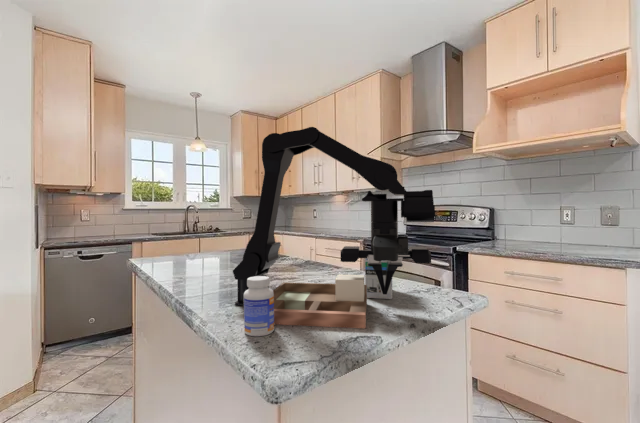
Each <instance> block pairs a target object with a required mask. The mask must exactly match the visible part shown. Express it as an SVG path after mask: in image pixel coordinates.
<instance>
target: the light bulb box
mask: <svg viewBox="0 0 640 423" xmlns="http://www.w3.org/2000/svg"><path fill="white" fill-rule="evenodd" d="M367 263H368V260H367V258H364V264H365V265H364V272H365V275H364V285H367V299H378V300H379V299H381V300H382V299H384V300H393V279H392V280H391V283H390V286H389V289H388V292H387V295H384V294H383V293H382V290H381V286H380V283H379V280H378V277H377V275H376V273H375V271H374V269H373V267H372V266H368V265H367ZM381 265H382V272H383V279H384V286H385V278H386V269H387V260H382V261H381Z"/></svg>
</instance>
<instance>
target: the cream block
mask: <svg viewBox="0 0 640 423" xmlns="http://www.w3.org/2000/svg"><path fill="white" fill-rule="evenodd" d="M334 281H335V282H334V284H335V296H336V301H363V302H364V285H365V275H364V274H337V275H336V278H335V280H334Z"/></svg>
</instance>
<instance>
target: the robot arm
mask: <svg viewBox="0 0 640 423" xmlns="http://www.w3.org/2000/svg"><path fill="white" fill-rule="evenodd" d="M311 149H317V150H318V151H320V152H321V153H324V154H325V155H327V156H328V157H329V158H331V159H334V160H336V161H337V162H339V163H340V164H343V165H344V166H346V167H348V168H350V169H351V170H352V171H354V172H356V173H357V174H358V175H359V176H361V177H362V178H363V179H364V180H365V181H366V182H367V183H369V185H371V186H372V187H374V189H376V190H377V191H380V192H389V193H391V194H393V195H394V196H395V198H388V194H387V193H373V191H372V190H367V193H366V194H365V195H364V196H363V197H362V198H361V201H362V202H370V249H361V247H360V246H357V245H356V246H351V245H349V246H348V245H345V246H343V247H342V248H341V250H340V262H342V263H356V262H357V261H358V260H359V259H365V258H367V260H368V263H367V265H368V266H372V267H373V269H374V271H375V273H376V275H377V277H378V280H379V283H380V286H381V290H382V293H383V294H384V295H387V292H388V289H389V286H390V283H391V280H392V281H393V276H394V275H395V273H396V271H397V269H398V268H402V267H403V266H404V264H403V263H402V261H403V260H412V261H413V262H414V263H415V264H432V253H431V252H432V251H430V249H428V248H427V247H426V246H409V237H408V236H407V235H399V232H398V231H399V224H398V223H399V220H398V219H399V212H398V211H399V208H398V207H399V206H398V204H399V203H398V202H400V217H401V218H404V219H405V221H406V223H434V221H435V217H436V216H435V214H436V206H435V204H434V195H433V194H434V193H433V189H426V190H416V191H415V190H414V191H413V190H412V191H409V190H408V191H407V189H405V186H403V185H402V184H401V183H400V181H399V180H398V172H397V169H396V168H395V167H394V166H393V165H392V164H390V163H388V162H385V161H383V160H378V159H376V158H373V157H369V156H366V155H363V154H360V153H358V151H356V150H354V149H352V148H351V147H348V146H347V145H344V144H343V143H341V142H339V141H337V140H336V139H334V138H332V137H331V136H328V135H327V134H326V133H323V132H322V131H320V130H319V129H318V128H317V127H314V126H308V127H306V128H302V129H297V130H291V131H285V132H282V133H278V132H271V133H270V134H268V135H266V136H265V137H264V138H263V140H262V142H261V161H262V166H263V170H264V171H263V172H264V175H263V180H262V186H261V191H260V192H261V193H260V198H259V203H258V209H257V215H256V222H255V225H254V226H255V227H254V231H253V233H252V235H251V237H250V239H249V241H248V242H247V244H246V247H245V249H244V253H243V256H242V260H241V262H240V263H239V264H237V265H236V267H234V269H232V274H233V277H234V280H236V283H237V284H236V285H237V286H236V287H237V301H234V306H235V305H236V306H244V292H245V291H246V290H248V289H249V287H247V279H248V278H249V277H254V276H267V275H268V274H269V272H270V268H271V267H272V266H273V265H275V263H276V260H279V259H280V258H279V250H280V247H281V245H282V244H281V242H280V241H276V237H275V230H276V223H277V218H278V212H279V206H280V199H281V194H282V188H283V185H284V184H283V183H284V178H285V175H286V173H287V171H288V170H289V168H290V167H291V165H292V161H293V159H294V156H297V155H298V156H299V155H300V154H303V153H305V152H307V151H309V150H311ZM396 197H397V198H396ZM398 197H402V198H398ZM382 260H387V269H386V278H385V286H384V279H383V272H382V265H381V261H382ZM266 274H267V275H266ZM267 277H268V276H267ZM268 288H270V285H269V286H268Z"/></svg>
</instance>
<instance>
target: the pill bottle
mask: <svg viewBox="0 0 640 423" xmlns="http://www.w3.org/2000/svg"><path fill="white" fill-rule="evenodd" d="M270 284H271V282H270V277H269V276H254V277H249V278H248V279H247V287H249V289H248V290H246V291H245V292H244V305H243V319H244V320H243V321H244V322H243V323H244V324H243V326H244V327H243V331H244V333H245V335H247V336H249V337H251V336H252V337H263V336H268V335H270V334H272V333H273V332H274V330H275V324H274V292H273V290H274V289H272V288H270ZM268 286H269V288H268Z"/></svg>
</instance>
